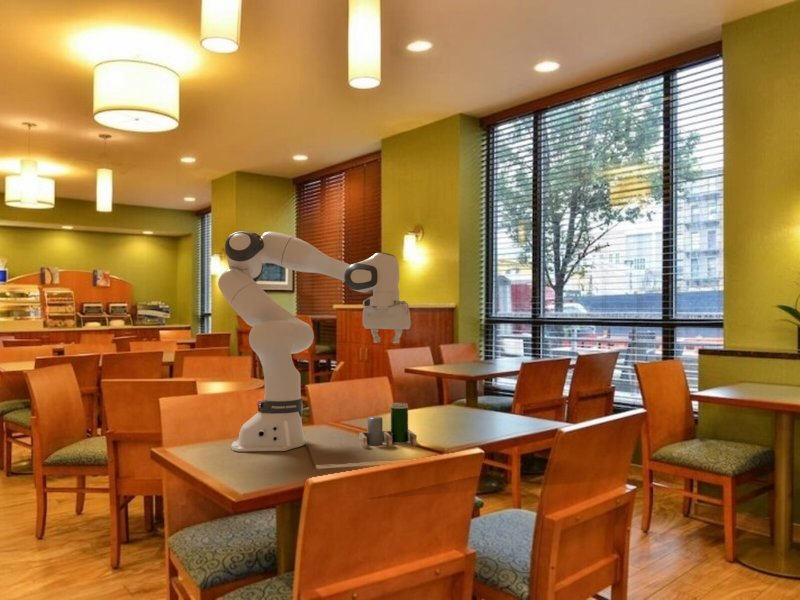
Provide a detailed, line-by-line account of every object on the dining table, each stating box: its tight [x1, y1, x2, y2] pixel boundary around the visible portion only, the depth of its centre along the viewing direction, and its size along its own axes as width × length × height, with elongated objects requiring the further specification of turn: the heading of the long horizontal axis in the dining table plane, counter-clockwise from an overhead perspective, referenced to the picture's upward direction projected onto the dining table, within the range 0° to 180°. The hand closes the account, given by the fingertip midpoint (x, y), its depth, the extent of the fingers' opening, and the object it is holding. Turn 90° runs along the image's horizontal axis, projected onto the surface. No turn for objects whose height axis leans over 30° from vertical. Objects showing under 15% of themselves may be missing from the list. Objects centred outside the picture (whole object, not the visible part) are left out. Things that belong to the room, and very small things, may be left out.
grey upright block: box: [366, 416, 384, 446], centre depth 181 cm, size 5×5×8 cm
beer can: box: [390, 402, 409, 445], centre depth 183 cm, size 5×5×12 cm
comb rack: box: [358, 429, 418, 449], centre depth 182 cm, size 16×9×4 cm, turn 103°
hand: (386, 342), depth 198 cm, fingers open, 8 cm apart
